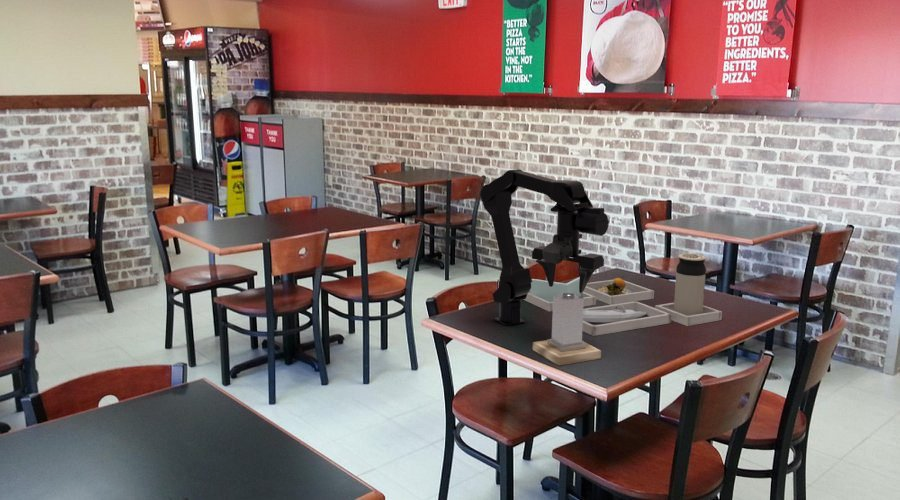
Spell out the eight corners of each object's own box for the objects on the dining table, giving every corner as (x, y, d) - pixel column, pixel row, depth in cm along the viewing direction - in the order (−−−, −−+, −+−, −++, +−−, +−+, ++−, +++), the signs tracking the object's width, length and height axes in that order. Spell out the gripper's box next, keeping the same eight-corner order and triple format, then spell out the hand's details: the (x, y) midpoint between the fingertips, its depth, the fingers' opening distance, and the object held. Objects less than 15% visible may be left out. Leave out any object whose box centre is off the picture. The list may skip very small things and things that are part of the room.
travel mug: (671, 319, 210) (676, 257, 206) (674, 311, 217) (678, 252, 214) (701, 322, 207) (706, 260, 203) (702, 314, 214) (707, 254, 211)
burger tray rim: (577, 291, 239) (577, 284, 238) (618, 286, 246) (619, 278, 246) (610, 304, 224) (610, 296, 223) (653, 298, 231) (654, 290, 231)
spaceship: (582, 327, 203) (583, 312, 202) (571, 321, 209) (571, 305, 208) (654, 319, 210) (655, 304, 209) (641, 313, 216) (642, 299, 215)
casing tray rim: (560, 320, 208) (560, 312, 207) (635, 309, 219) (636, 301, 219) (592, 336, 195) (593, 327, 194) (671, 323, 206) (671, 314, 206)
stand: (532, 349, 184) (532, 341, 183) (573, 343, 189) (573, 335, 188) (558, 365, 173) (558, 357, 173) (600, 358, 178) (601, 350, 178)
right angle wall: (582, 300, 230) (583, 276, 228) (566, 309, 220) (567, 284, 218) (547, 294, 236) (547, 272, 234) (530, 303, 226) (531, 279, 224)
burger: (610, 289, 243) (611, 267, 242) (641, 296, 235) (642, 273, 233) (588, 295, 235) (589, 272, 234) (619, 303, 227) (620, 279, 225)
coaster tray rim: (518, 297, 232) (518, 289, 231) (563, 291, 239) (563, 284, 238) (548, 311, 217) (549, 303, 216) (595, 304, 224) (595, 296, 223)
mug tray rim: (654, 313, 215) (655, 305, 215) (688, 308, 221) (688, 300, 220) (686, 326, 204) (687, 317, 203) (721, 320, 209) (722, 311, 209)
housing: (547, 344, 182) (549, 292, 179) (571, 340, 185) (573, 289, 182) (561, 352, 176) (563, 299, 174) (585, 348, 179) (588, 296, 176)
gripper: (519, 230, 188) (518, 289, 191) (582, 239, 176) (579, 302, 179) (544, 224, 196) (543, 281, 199) (606, 233, 184) (603, 293, 187)
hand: (565, 289), depth 191 cm, fingers open, 9 cm apart
